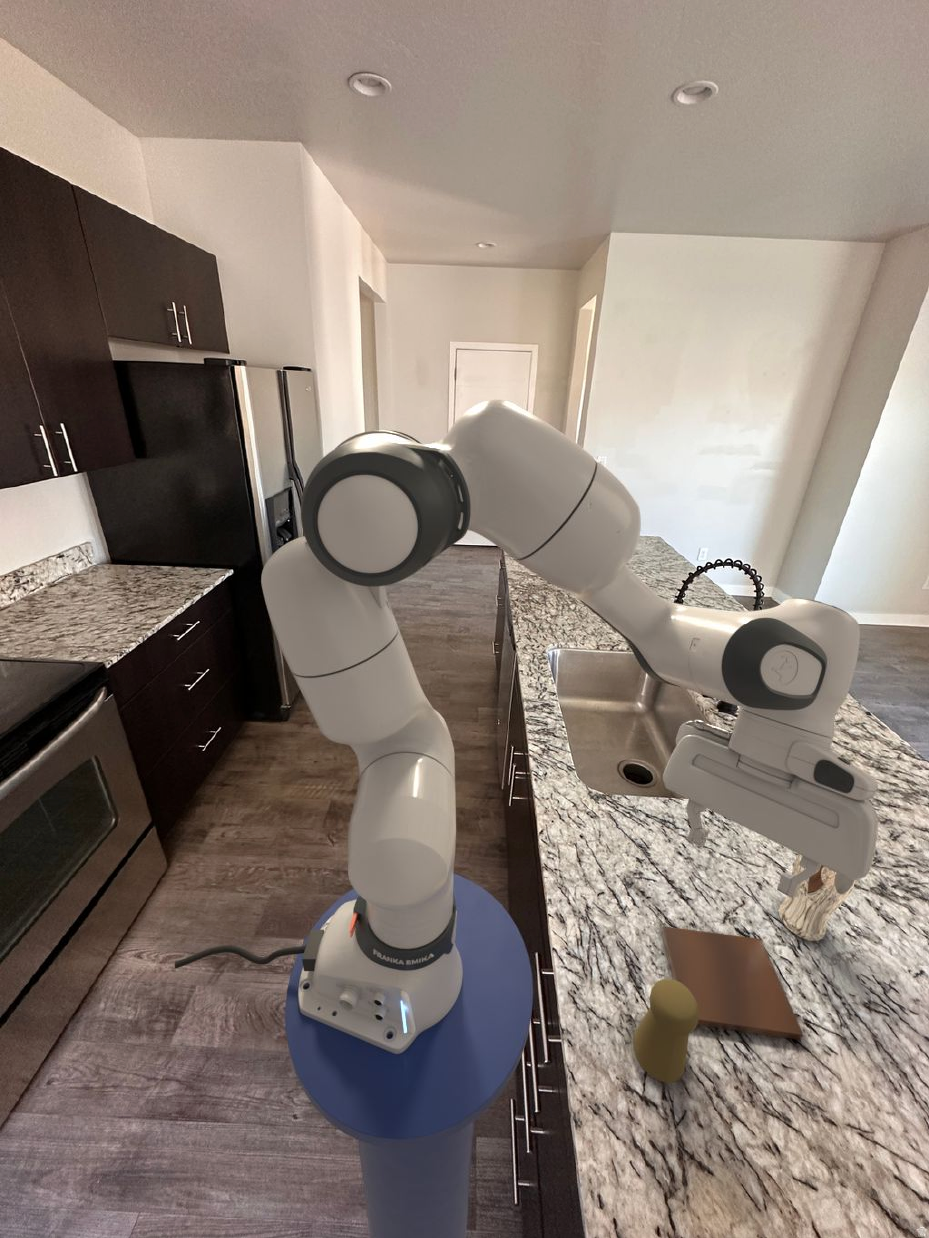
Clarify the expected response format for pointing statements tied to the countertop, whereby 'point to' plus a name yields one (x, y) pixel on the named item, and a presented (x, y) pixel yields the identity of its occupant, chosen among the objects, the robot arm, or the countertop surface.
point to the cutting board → (731, 982)
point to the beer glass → (814, 902)
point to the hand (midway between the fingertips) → (738, 866)
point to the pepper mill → (666, 1031)
